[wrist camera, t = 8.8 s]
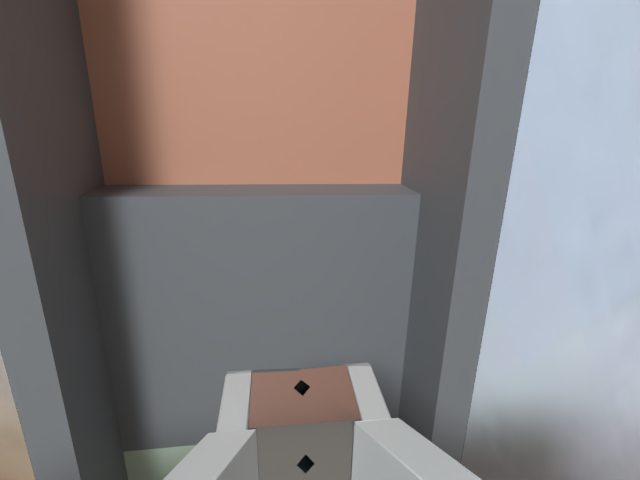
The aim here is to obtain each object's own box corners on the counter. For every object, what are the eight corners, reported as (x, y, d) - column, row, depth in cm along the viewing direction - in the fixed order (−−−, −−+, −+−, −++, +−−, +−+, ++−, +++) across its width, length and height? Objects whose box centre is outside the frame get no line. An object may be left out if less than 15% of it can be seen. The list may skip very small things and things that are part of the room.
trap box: (461, -158, 13) (598, -341, 8) (389, 519, 22) (429, 644, 17) (4, -215, 11) (-233, -514, 6) (138, 551, 20) (95, 703, 15)
